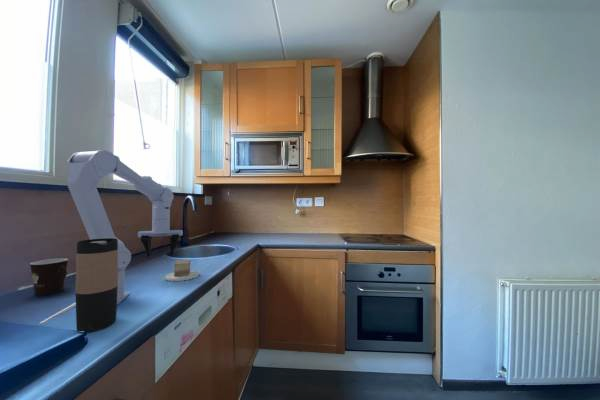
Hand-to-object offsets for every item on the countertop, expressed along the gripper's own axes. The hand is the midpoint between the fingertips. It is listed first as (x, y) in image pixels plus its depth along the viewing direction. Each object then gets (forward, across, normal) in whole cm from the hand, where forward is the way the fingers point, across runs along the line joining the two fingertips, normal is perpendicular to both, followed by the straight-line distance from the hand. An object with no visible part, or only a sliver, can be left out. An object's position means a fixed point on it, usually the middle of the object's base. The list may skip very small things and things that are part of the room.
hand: (160, 255), depth 91 cm
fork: (+10, +18, +18) cm, 27 cm away
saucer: (+9, -7, -3) cm, 12 cm away
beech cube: (+9, -7, -3) cm, 12 cm away
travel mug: (+10, +6, +33) cm, 35 cm away
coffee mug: (+10, +31, +3) cm, 33 cm away
